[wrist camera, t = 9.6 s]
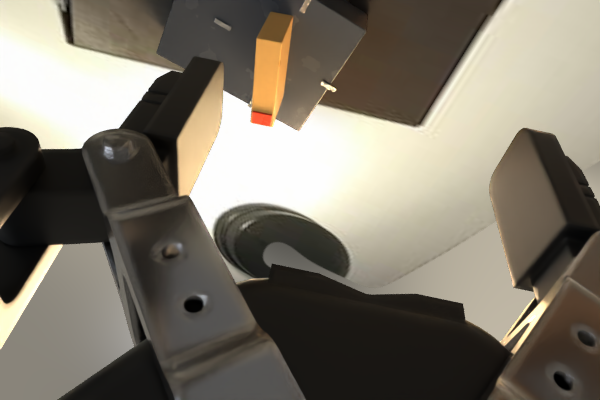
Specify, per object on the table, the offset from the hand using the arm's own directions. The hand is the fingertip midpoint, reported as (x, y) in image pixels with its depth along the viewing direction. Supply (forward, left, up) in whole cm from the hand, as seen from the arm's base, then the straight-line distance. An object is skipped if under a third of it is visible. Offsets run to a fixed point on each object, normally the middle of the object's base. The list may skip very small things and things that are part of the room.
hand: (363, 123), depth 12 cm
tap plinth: (0, -12, -27) cm, 30 cm away
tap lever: (+1, -12, -24) cm, 27 cm away
